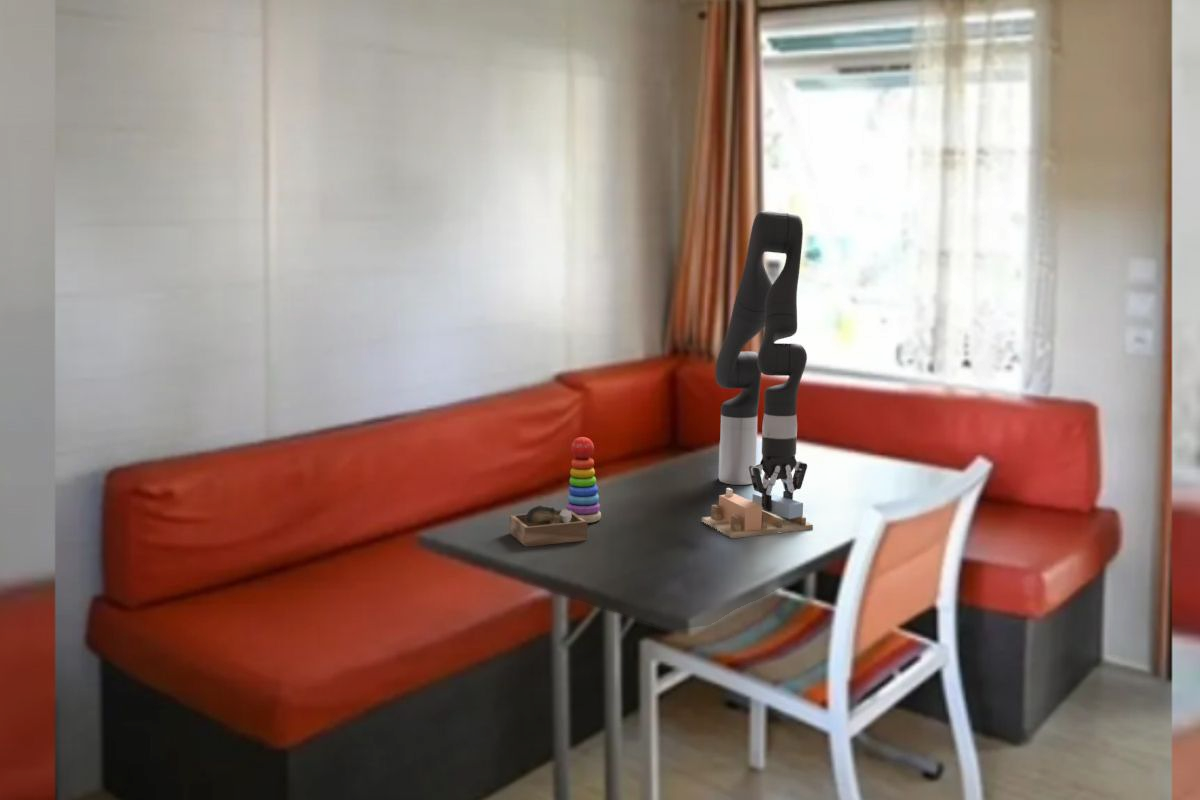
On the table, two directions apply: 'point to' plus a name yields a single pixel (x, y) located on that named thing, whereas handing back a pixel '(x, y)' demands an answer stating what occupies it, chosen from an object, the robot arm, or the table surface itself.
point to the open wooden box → (547, 530)
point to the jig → (769, 525)
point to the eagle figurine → (548, 515)
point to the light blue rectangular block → (781, 506)
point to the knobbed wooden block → (740, 510)
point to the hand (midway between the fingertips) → (776, 509)
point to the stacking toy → (583, 482)
